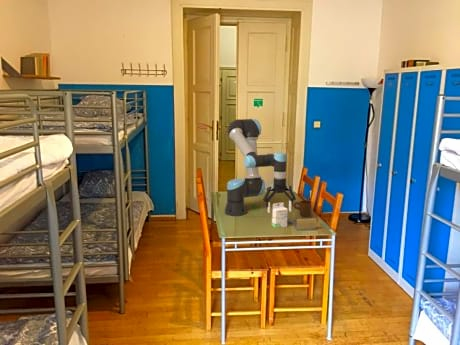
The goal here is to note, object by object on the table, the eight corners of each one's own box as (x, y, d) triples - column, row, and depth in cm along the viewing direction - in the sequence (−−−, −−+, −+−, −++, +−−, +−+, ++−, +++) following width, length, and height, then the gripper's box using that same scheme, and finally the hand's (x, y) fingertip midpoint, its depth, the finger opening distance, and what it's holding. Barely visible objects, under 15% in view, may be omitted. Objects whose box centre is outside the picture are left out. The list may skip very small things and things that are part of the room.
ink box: (275, 228, 248) (275, 205, 245) (271, 226, 252) (271, 203, 250) (287, 226, 251) (288, 203, 248) (283, 224, 256) (284, 201, 253)
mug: (293, 216, 272) (293, 203, 271) (292, 213, 280) (293, 200, 278) (311, 217, 271) (311, 203, 269) (310, 213, 279) (310, 200, 277)
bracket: (297, 230, 244) (297, 219, 243) (288, 221, 262) (288, 211, 261) (316, 229, 246) (316, 218, 245) (306, 220, 264) (306, 210, 262)
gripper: (261, 179, 241) (261, 214, 244) (301, 178, 244) (300, 212, 248) (258, 177, 248) (258, 210, 252) (297, 176, 251) (296, 209, 255)
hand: (279, 211), depth 250 cm, fingers open, 13 cm apart
